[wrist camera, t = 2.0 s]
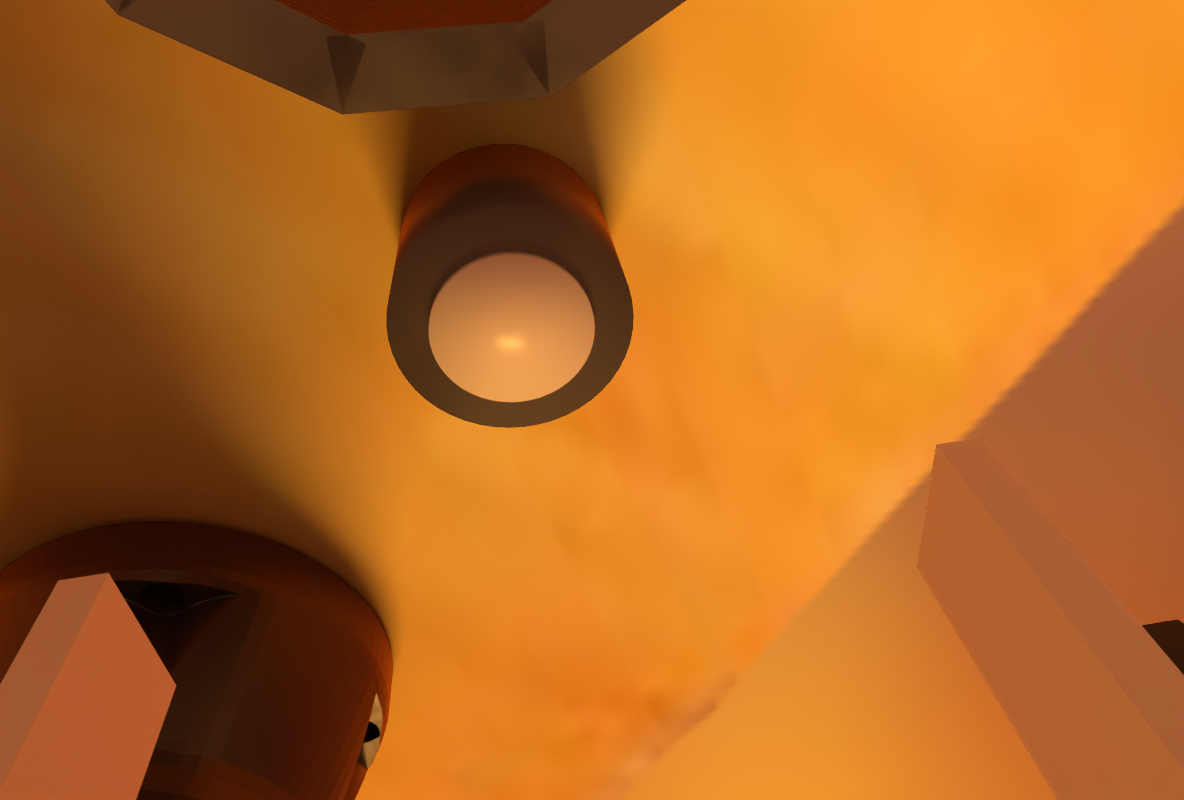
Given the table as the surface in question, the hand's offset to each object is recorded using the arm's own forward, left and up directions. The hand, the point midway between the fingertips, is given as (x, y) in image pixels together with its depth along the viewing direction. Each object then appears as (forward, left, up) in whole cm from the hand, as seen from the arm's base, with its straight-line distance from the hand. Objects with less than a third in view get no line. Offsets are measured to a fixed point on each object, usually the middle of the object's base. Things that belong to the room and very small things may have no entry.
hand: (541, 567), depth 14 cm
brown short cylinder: (0, 0, -13) cm, 13 cm away
